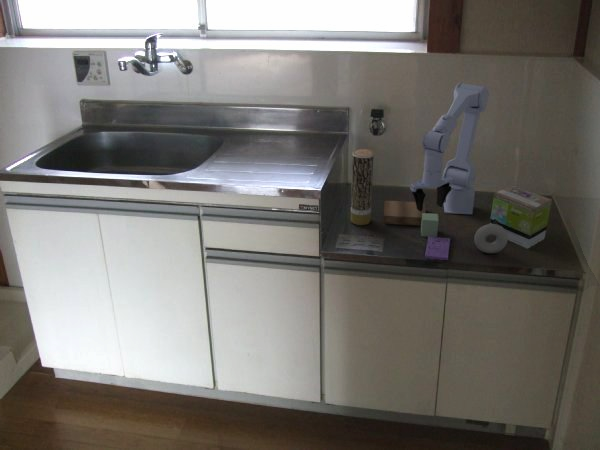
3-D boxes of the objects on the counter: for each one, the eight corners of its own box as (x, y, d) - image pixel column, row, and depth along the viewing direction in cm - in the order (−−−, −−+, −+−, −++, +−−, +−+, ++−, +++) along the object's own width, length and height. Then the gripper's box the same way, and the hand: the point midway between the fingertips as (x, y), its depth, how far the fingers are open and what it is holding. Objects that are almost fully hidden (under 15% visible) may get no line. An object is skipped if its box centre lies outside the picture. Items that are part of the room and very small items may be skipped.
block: (436, 230, 213) (437, 213, 210) (436, 237, 209) (438, 220, 206) (420, 229, 214) (422, 213, 211) (421, 236, 209) (422, 219, 207)
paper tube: (373, 219, 220) (376, 150, 209) (366, 227, 215) (369, 157, 203) (354, 215, 223) (356, 147, 211) (347, 223, 217) (349, 154, 206)
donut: (473, 254, 198) (476, 225, 194) (472, 249, 201) (475, 220, 197) (506, 256, 197) (510, 227, 192) (504, 250, 200) (509, 222, 195)
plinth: (424, 210, 226) (424, 202, 225) (425, 225, 216) (425, 217, 214) (384, 208, 228) (384, 200, 227) (383, 223, 217) (383, 215, 216)
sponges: (449, 243, 206) (450, 238, 205) (447, 262, 195) (448, 257, 194) (427, 240, 208) (428, 235, 207) (424, 260, 197) (424, 254, 196)
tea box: (487, 233, 211) (493, 192, 204) (505, 223, 216) (511, 183, 210) (527, 250, 200) (535, 207, 194) (545, 239, 206) (553, 198, 199)
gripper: (445, 160, 207) (441, 199, 213) (406, 167, 202) (403, 206, 208) (458, 168, 201) (453, 207, 207) (418, 176, 196) (415, 215, 202)
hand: (429, 207), depth 207 cm, fingers open, 7 cm apart
